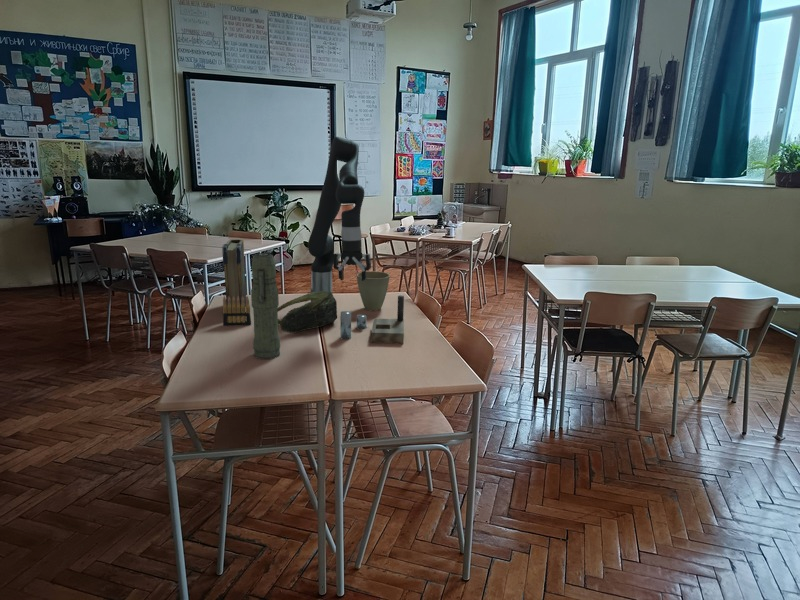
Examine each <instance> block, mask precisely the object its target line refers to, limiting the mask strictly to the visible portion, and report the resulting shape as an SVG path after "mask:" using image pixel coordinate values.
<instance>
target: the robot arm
mask: <svg viewBox="0 0 800 600" xmlns="http://www.w3.org/2000/svg"><path fill="white" fill-rule="evenodd" d="M359 154H360V148H359V144H358V143H357V141H355V140H351V139H349V138H348V139H347V138H345V137H340V136H335V137H334V138H333V140H332V141H331V146H330V150H329V155H328V163H327V168H326V173H325V177H324V182H323V185H322V188H321V189H322V190H321V193H320V197H319V200H318V201H319V202H318V206H317V211H316V215H315V220H314V223H313V227H312V230H311V233H310V236H309V238H308V242H307V250H308V252H309V254H310V255H311V256H312V257H314V260H313V262H312V263H311V266H310V271H311V272H310V277H311V280H310V281H311V288H310V293H312V292H332V293H333V269H334V270H337V271H338V278H339V280H340V281H343V280H344V276H345V275H344V270H343V269H344V268H345V267H346V265H347V266H356V265H357V267H358V268H359V269H360V270H361V272H362V281H364V280H365V279H366V272H367V271H370V269H372V261H371V254H370V253H364V254H363V252H362V246H363V245H362V238H363V237H362V229H361V210H362V205H363V201H364V199H365V189H364V187H363V186H362V185H361V184H359V179H358V165H359ZM338 161H339V162H343V163H345V164H343V165H342V167H340V170H339V173H338V170H337V162H338ZM342 205H354V207H352V208H351V209H347V210H343V211H342V212H341V215H340V216H341V218H340V219H341V233H340V234H341V235H340V236H341V253H339V252H336V253H335V243H334V240H333V238H332V236H330V235H329V233H330V229H331V226H332V224H333V222H334V221H335V219H336V218H337V216H338V214H339V213H340V211H341V207H342ZM339 259H342V262H341V264H340V265H339ZM362 260H365V264H364V263H363V261H362ZM312 301H315V299H312V300H310V302H312Z"/></svg>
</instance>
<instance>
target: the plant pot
mask: <svg viewBox="0 0 800 600" xmlns="http://www.w3.org/2000/svg"><path fill="white" fill-rule="evenodd" d="M390 275H391V274H390V273H388V272H385V271H384V272H383V271H374V270H373V271H370V270H367V271H366V279H365V280H364V281H362V271H360V272H358V273H357V274H356V280H357V281H356V282H357V286H358V287H357V288H358V291H359V295H360V299H361V301H362V305H363V307H364V309H365V310H366V309H367V310H366V311H369V310H377V311H380V310H381V309H382V308H383V305H384V301H385V300H386V295H387V293H388V287H389V283H390Z"/></svg>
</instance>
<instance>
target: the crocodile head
mask: <svg viewBox="0 0 800 600" xmlns="http://www.w3.org/2000/svg"><path fill="white" fill-rule="evenodd" d="M312 299H315V301H312V302H311V300H312ZM303 302H304V304H303V305H300V306H299V307H294V308H293V309H290V310H288V312H287V313H286V314H285V315H284V316H283V317H282V318H281V319H279V318H278V325H279V329H280V330H281V331H282V332H285V333H294V334H295V333H299V332H302V331H305V330H310V329H315V328H320V327H323V326H325V325H329V324H333V323H334V322H335V321H336V320H337V319H338V310H337V309H338V308H337V305H338V304H337V299H335V297H334V295H333V291H332V292H312V293H311V292H308V293H306V294H303V295H300V296H298V297H296V298H293V299H291V300H289V301H287V302H285V303H283V304H281V305H280V306H278V308H277V312H278V313H279V312H280V311H282V310H283V309H286V308H287V307H290V306H292V305H296V304H300V303H303Z"/></svg>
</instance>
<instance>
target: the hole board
mask: <svg viewBox="0 0 800 600" xmlns="http://www.w3.org/2000/svg"><path fill="white" fill-rule="evenodd" d="M404 305H405V295H403V294H402V295H398V296H397V314H396V315H397V317H396V318H373V320H372V321H373V323H372V326H371V327H372V328H371V331H370V332H371V335H370V336H371V338H370V339H371V340H370V343H371V342H372V344H395V343H399V344H401V345H404V343H405V342H404V341H405V339H404V338H405V329H404V328H405V322H404V321H405V320H404V311H405V310H404V309H405V308H404V307H405V306H404Z"/></svg>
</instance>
